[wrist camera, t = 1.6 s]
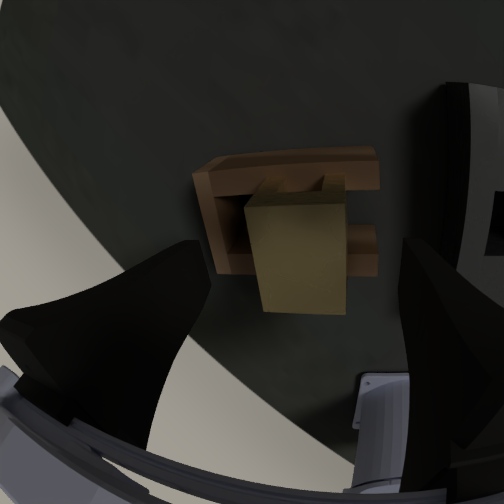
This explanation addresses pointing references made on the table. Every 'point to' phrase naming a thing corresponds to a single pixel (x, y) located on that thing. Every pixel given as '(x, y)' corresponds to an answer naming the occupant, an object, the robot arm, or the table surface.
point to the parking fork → (298, 180)
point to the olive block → (300, 246)
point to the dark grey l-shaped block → (475, 186)
